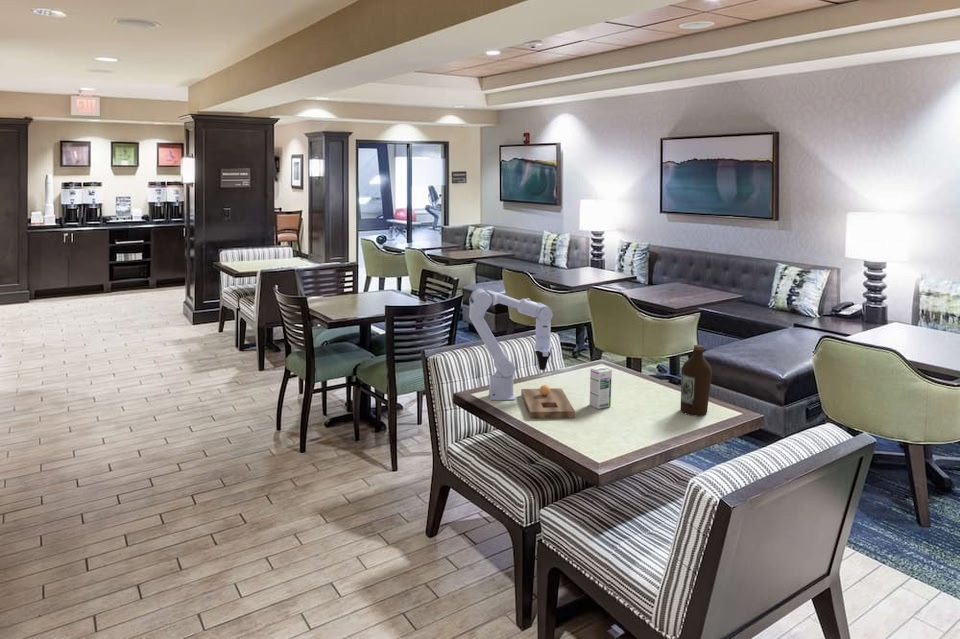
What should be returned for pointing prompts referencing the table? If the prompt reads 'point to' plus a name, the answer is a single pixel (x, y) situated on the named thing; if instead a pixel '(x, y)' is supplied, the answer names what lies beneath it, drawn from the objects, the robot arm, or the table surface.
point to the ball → (544, 390)
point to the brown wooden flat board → (547, 404)
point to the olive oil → (695, 383)
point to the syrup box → (600, 387)
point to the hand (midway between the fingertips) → (542, 369)
